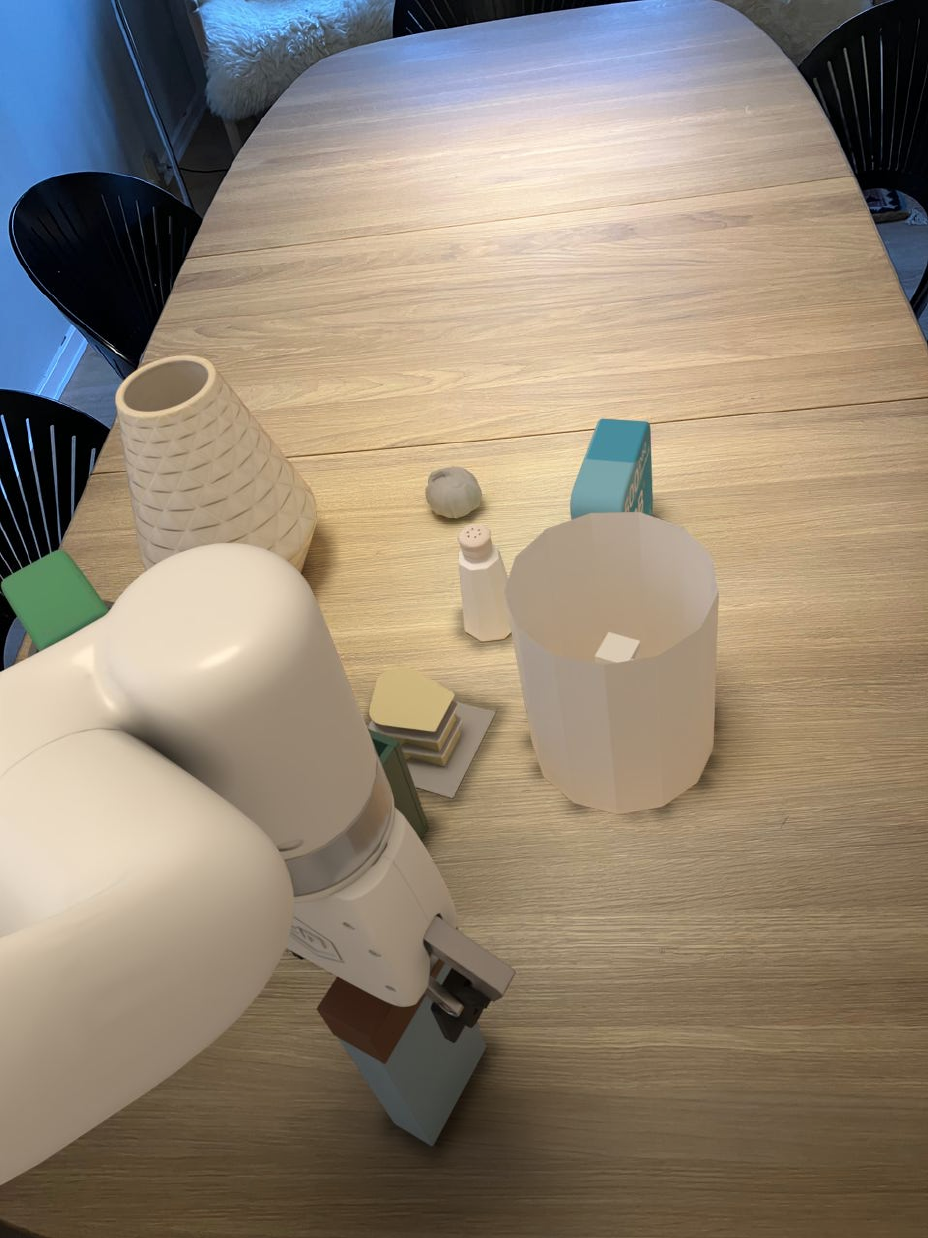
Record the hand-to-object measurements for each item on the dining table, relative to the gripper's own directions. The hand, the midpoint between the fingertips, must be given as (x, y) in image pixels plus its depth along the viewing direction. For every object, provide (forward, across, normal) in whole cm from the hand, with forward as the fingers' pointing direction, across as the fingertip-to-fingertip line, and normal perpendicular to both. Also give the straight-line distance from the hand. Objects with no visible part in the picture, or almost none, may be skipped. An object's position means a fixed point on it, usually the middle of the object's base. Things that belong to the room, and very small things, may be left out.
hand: (387, 973), depth 55 cm
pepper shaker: (+18, -17, +37) cm, 44 cm away
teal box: (+18, -10, +49) cm, 53 cm away
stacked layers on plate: (+17, -16, +23) cm, 33 cm away
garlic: (+18, -28, +49) cm, 59 cm away
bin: (+17, -17, +10) cm, 26 cm away
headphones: (+17, -39, +12) cm, 44 cm away
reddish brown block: (+2, 0, 0) cm, 2 cm away
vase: (+18, -43, +33) cm, 57 cm away
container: (+18, -1, +30) cm, 34 cm away
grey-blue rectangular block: (+17, 0, 0) cm, 17 cm away
